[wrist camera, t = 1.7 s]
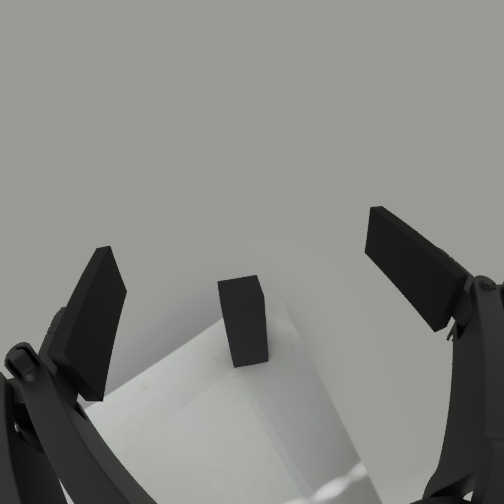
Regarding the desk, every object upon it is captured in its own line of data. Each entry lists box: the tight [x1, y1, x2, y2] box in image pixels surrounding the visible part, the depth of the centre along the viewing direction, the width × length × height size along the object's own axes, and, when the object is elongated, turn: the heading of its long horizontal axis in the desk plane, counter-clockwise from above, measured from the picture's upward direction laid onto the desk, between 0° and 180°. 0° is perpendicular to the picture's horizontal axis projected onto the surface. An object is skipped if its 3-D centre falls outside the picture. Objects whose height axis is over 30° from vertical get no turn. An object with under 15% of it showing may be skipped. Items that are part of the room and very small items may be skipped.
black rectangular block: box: [218, 275, 268, 368], centre depth 29 cm, size 4×4×10 cm
